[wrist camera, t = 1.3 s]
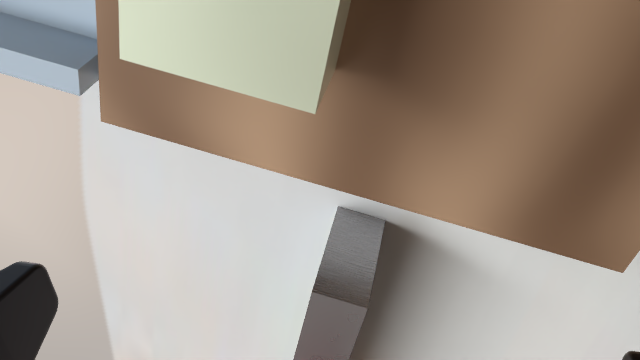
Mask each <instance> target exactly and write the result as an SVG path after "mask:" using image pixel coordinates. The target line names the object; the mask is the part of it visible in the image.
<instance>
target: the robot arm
mask: <svg viewBox="0 0 640 360" xmlns="http://www.w3.org/2000/svg"><path fill="white" fill-rule="evenodd" d="M57 308H58V297H57V294H56V292H55V289H54V287H53V284H52V282H51V279H50V277H49V274H48V272H47V270H46V268H45V267H44V266H43V265H41V264H37V263H29V262H16V263H14V264H12V265H10V266H8V267H6V268H5V269H3V270H1V271H0V360H35V358H36V355H37V354H38V351H39V349H40V347H41V345H42V343H43V340H44V338H45V336H46V334H47V332H48V330H49V327H50V325H51V323H52V321H53V319H54V317H55V314H56V312H57ZM622 360H640V352H636V351H629V352H627V353H626V354H625V355H624V357H623V359H622Z"/></svg>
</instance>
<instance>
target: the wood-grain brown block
mask: <svg viewBox="0 0 640 360" xmlns="http://www.w3.org/2000/svg"><path fill="white" fill-rule="evenodd" d="M95 5H96V26H97V47H98V69H99V90H100V112H101V121H102V122H105V123H109V124H112V125H116V126H119V127H122V128H126V129H129V130H133V131H136V132H140V133H143V134H146V135H150V136H153V137H157V138H160V139H164V140H167V141H171V142H174V143H177V144H181V145H184V146H188V147H191V148H195V149H198V150H201V151H205V152H208V153H212V154H215V155H219V156H222V157H226V158H229V159H232V160H236V161H239V162H243V163H246V164H250V165H253V166H257V167H260V168H263V169H267V170H270V171H274V172H277V173H281V174H284V175H287V176H291V177H294V178H298V179H301V180H305V181H308V182H312V183H315V184H318V185H322V186H325V187H329V188H332V189H336V190H339V191H343V192H346V193H349V194H353V195H356V196H360V197H363V198H367V199H370V200H373V201H377V202H380V203H384V204H387V205H391V206H394V207H398V208H401V209H404V210H408V211H411V212H415V213H418V214H422V215H425V216H429V217H432V218H435V219H439V220H442V221H446V222H449V223H453V224H456V225H459V226H463V227H466V228H470V229H473V230H477V231H480V232H484V233H487V234H490V235H494V236H497V237H501V238H504V239H508V240H511V241H515V242H518V243H521V244H525V245H528V246H532V247H535V248H539V249H542V250H545V251H549V252H552V253H556V254H559V255H563V256H566V257H570V258H573V259H576V260H580V261H583V262H587V263H590V264H594V265H597V266H600V267H604V268H607V269H611V270H614V271H618V272H621V273H623V272H624V271H625V269H626V268H627V267H628V265H629V264H630V263H631V261H632V260H633V259H634V257H635V256H636V255H637V253H638V252H639V251H640V0H351V3H350V8H349V12H348V16H347V21H346V25H345V29H344V34H343V38H342V42H341V47H340V51H339V55H338V60H337V64H336V69H335V71H334V74H333V76H332V78H331V80H330V82H329V85H328V87H327V89H326V91H325V94H324V96H323V98H322V100H321V102H320V105H319V107H318V109H317V111H316V113H315V114H312V113H309V112H305V111H302V110H298V109H295V108H291V107H288V106H284V105H281V104H277V103H274V102H270V101H266V100H263V99H259V98H256V97H252V96H249V95H245V94H242V93H238V92H235V91H231V90H228V89H224V88H221V87H217V86H214V85H210V84H207V83H203V82H200V81H196V80H193V79H189V78H185V77H182V76H178V75H175V74H171V73H168V72H164V71H161V70H157V69H154V68H150V67H147V66H143V65H140V64H136V63H133V62H129V61H126V60H122V59H120V48H119V2H118V0H95Z"/></svg>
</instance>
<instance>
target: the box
mask: <svg viewBox="0 0 640 360" xmlns="http://www.w3.org/2000/svg"><path fill="white" fill-rule="evenodd" d="M0 73H2V74H6V75H9V76H12V77H16V78H20V79H23V80H26V81H30V82H33V83H37V84H40V85H44V86H47V87H51V88H54V89H58V90H61V91H64V92H68V93H72V94H75V95H78V96H80V95H82V94H83V93H84V92H85V91H86V90H87V89H88V88H90V87H91V86H92V85H93V84H94V83H95V82H97V81H98V80H99V69H98V47H97V26H96V5H95V0H0Z"/></svg>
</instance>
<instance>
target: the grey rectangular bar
mask: <svg viewBox="0 0 640 360" xmlns="http://www.w3.org/2000/svg"><path fill="white" fill-rule="evenodd" d="M384 224H385V220H383V219H380V218H376V217H373V216H369V215H366V214H362V213H359V212H356V211H352V210H349V209H345V208H342V207H338V208H337V212H336V215H335V218H334V222H333V225H332V228H331V231H330V235H329V238H328V241H327V244H326V248H325V251H324V254H323V258H322V261H321V264H320V267H319V271H318V274H317V277H316V280H315V284H314V287H313V290H312V294H311V297H310V301H309V305H308V308H307V312H306V316H305V319H304V323H303V327H302V330H301V334H300V338H299V341H298V345H297V348H296V352H295V356H294V359H293V360H349V358H350V355H351V353H352V350H353V347H354V345H355V342H356V339H357V337H358V334H359V331H360V328H361V326H362V323H363V320H364V318H365V315H366V312H367V310H368V305H369V300H370V295H371V290H372V285H373V280H374V275H375V270H376V265H377V260H378V255H379V250H380V244H381V239H382V234H383V229H384Z"/></svg>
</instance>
